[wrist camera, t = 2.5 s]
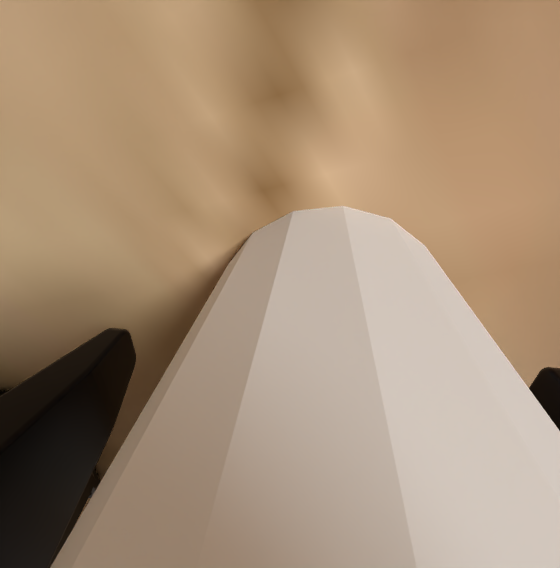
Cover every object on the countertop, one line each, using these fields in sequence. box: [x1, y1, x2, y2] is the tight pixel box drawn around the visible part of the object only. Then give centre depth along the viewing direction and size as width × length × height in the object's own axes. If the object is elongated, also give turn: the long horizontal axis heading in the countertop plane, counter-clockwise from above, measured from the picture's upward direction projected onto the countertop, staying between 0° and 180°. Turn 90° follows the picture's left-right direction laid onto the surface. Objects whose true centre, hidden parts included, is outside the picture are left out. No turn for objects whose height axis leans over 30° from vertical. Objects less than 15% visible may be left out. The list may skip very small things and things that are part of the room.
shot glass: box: [50, 206, 560, 568], centre depth 7 cm, size 7×7×7 cm
